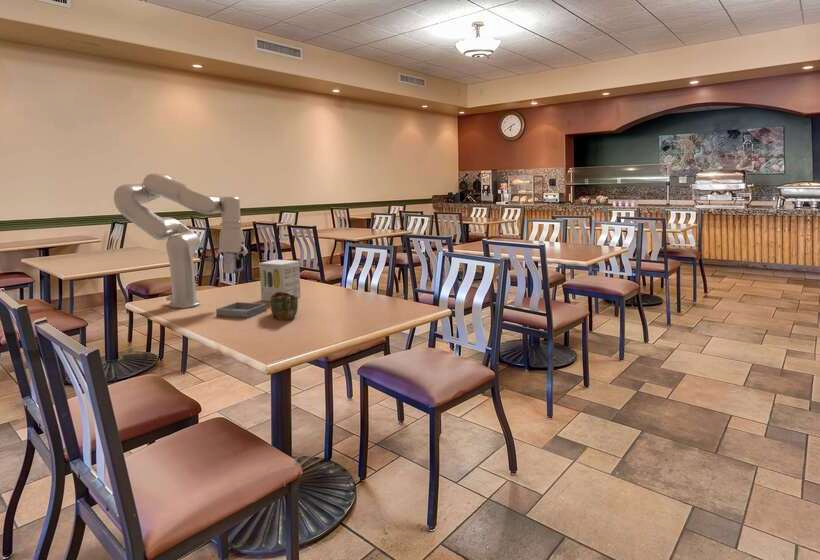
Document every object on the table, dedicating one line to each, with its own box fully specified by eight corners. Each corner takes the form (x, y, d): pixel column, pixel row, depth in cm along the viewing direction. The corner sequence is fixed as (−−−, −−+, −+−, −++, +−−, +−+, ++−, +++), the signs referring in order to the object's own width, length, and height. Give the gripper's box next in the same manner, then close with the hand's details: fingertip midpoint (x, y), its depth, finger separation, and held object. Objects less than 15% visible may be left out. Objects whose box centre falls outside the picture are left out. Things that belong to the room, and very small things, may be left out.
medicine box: (233, 273, 222) (232, 253, 221) (223, 273, 223) (223, 253, 221) (243, 271, 230) (242, 251, 228) (233, 270, 231) (232, 251, 229)
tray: (216, 316, 210) (216, 309, 209) (237, 308, 223) (237, 301, 222) (246, 318, 206) (246, 311, 205) (266, 311, 219) (265, 304, 218)
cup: (259, 322, 200) (258, 296, 198) (275, 311, 219) (274, 287, 218) (292, 323, 199) (291, 297, 197) (305, 311, 219) (305, 288, 217)
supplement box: (260, 300, 240) (258, 262, 237) (278, 295, 252) (276, 259, 249) (284, 302, 235) (282, 264, 232) (301, 297, 247) (299, 260, 244)
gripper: (209, 225, 222) (211, 268, 225) (243, 227, 217) (245, 270, 220) (220, 224, 229) (222, 265, 232) (253, 226, 224) (255, 268, 227)
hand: (233, 267), depth 226 cm, fingers closed on medicine box, 4 cm apart
